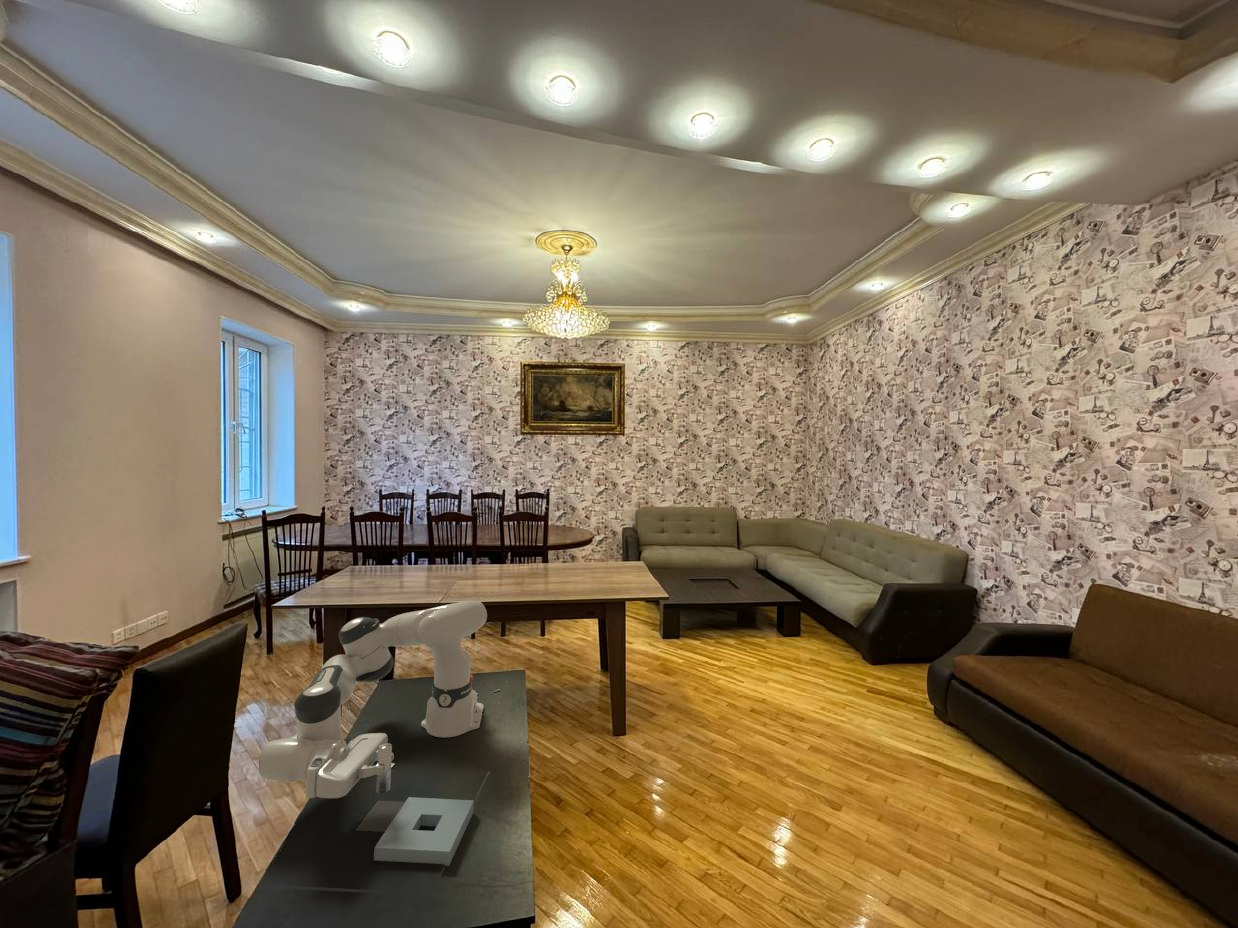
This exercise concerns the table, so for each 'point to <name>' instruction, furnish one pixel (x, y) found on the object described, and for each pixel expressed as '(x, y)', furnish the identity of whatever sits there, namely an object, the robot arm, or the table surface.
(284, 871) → the table surface
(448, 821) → the grey square hole board
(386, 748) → the steel pin
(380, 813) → the rubber mat
